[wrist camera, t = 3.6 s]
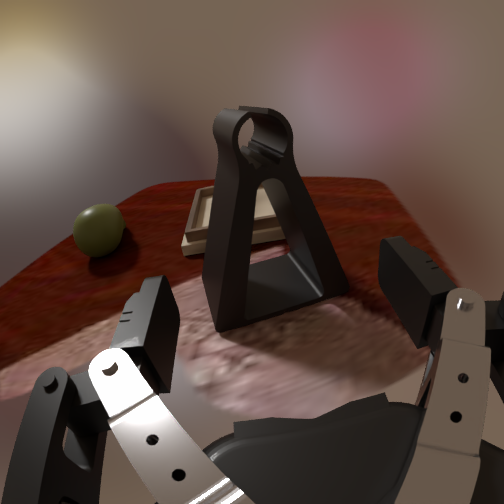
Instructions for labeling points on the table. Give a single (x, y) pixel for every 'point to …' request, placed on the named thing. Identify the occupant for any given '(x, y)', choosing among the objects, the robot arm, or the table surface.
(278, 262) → the phone stand
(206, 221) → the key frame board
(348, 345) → the table surface
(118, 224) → the pear
